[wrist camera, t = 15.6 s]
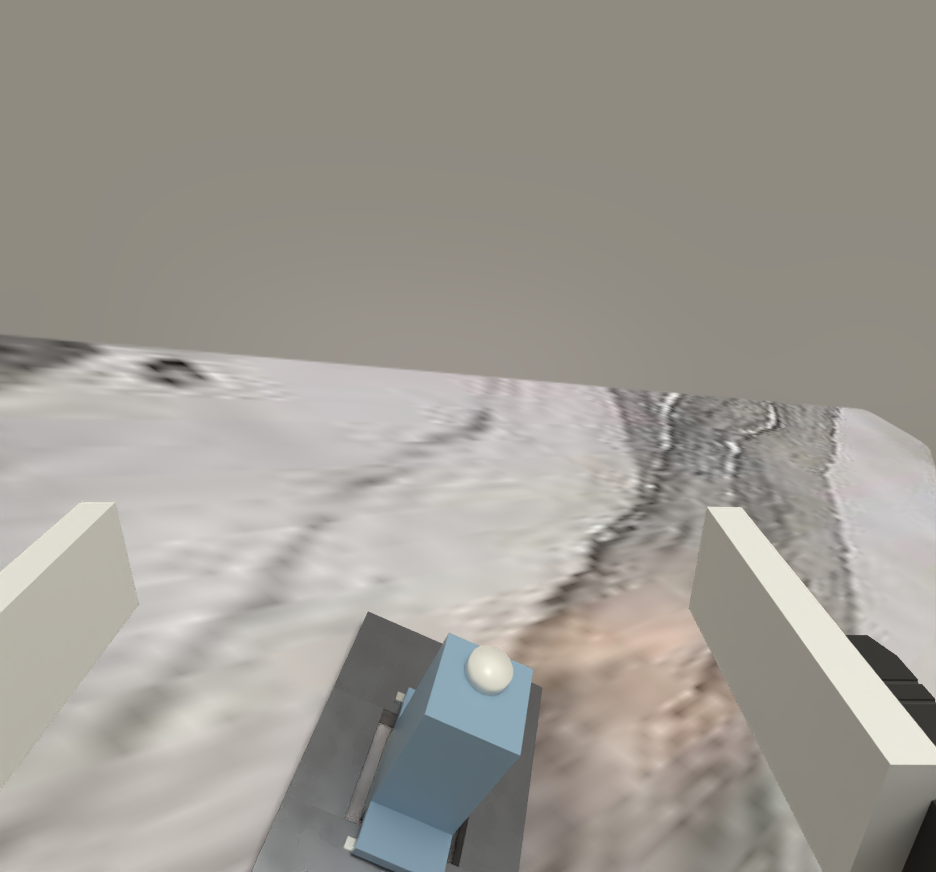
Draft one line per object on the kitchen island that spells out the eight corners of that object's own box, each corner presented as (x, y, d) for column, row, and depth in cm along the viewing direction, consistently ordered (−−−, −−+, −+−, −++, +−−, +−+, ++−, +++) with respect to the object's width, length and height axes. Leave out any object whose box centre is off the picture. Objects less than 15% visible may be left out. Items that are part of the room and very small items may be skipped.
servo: (427, 899, 35) (519, 800, 28) (344, 864, 35) (415, 755, 28) (465, 734, 43) (544, 625, 36) (398, 705, 43) (463, 590, 36)
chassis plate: (483, 1050, 31) (497, 1042, 30) (220, 940, 31) (225, 929, 30) (533, 698, 48) (543, 685, 47) (362, 624, 47) (368, 609, 46)
